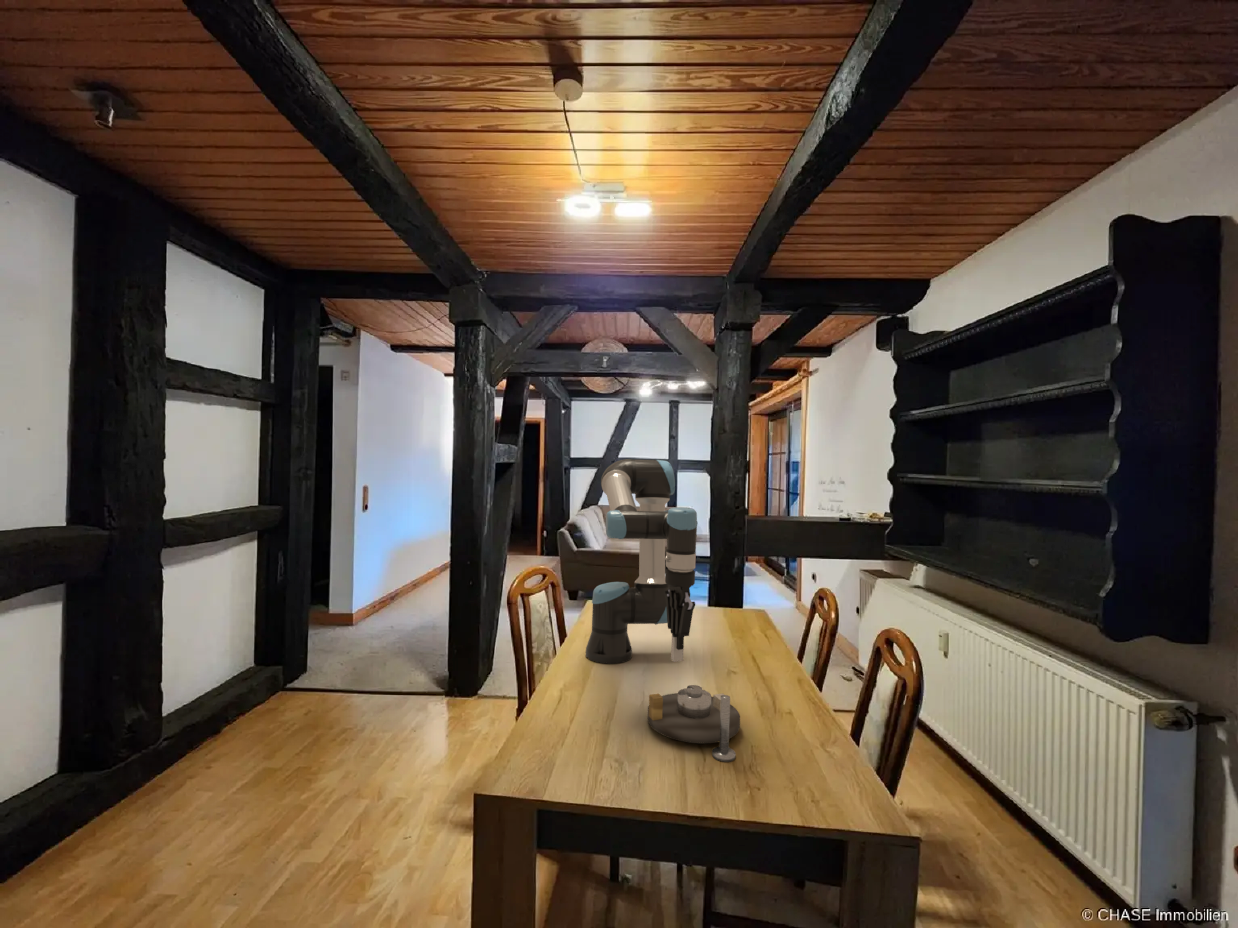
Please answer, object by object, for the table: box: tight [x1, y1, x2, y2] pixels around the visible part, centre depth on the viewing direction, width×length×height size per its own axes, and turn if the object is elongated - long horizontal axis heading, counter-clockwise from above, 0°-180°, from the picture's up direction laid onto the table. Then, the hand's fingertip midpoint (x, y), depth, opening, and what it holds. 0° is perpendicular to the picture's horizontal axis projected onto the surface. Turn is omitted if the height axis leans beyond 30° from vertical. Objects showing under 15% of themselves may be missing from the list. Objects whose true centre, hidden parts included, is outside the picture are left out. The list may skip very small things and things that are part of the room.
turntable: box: [646, 692, 741, 744], centre depth 133 cm, size 22×22×7 cm
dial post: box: [711, 693, 736, 763], centre depth 120 cm, size 6×5×13 cm
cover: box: [677, 684, 712, 719], centre depth 134 cm, size 8×8×6 cm
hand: (677, 659), depth 142 cm, fingers closed
